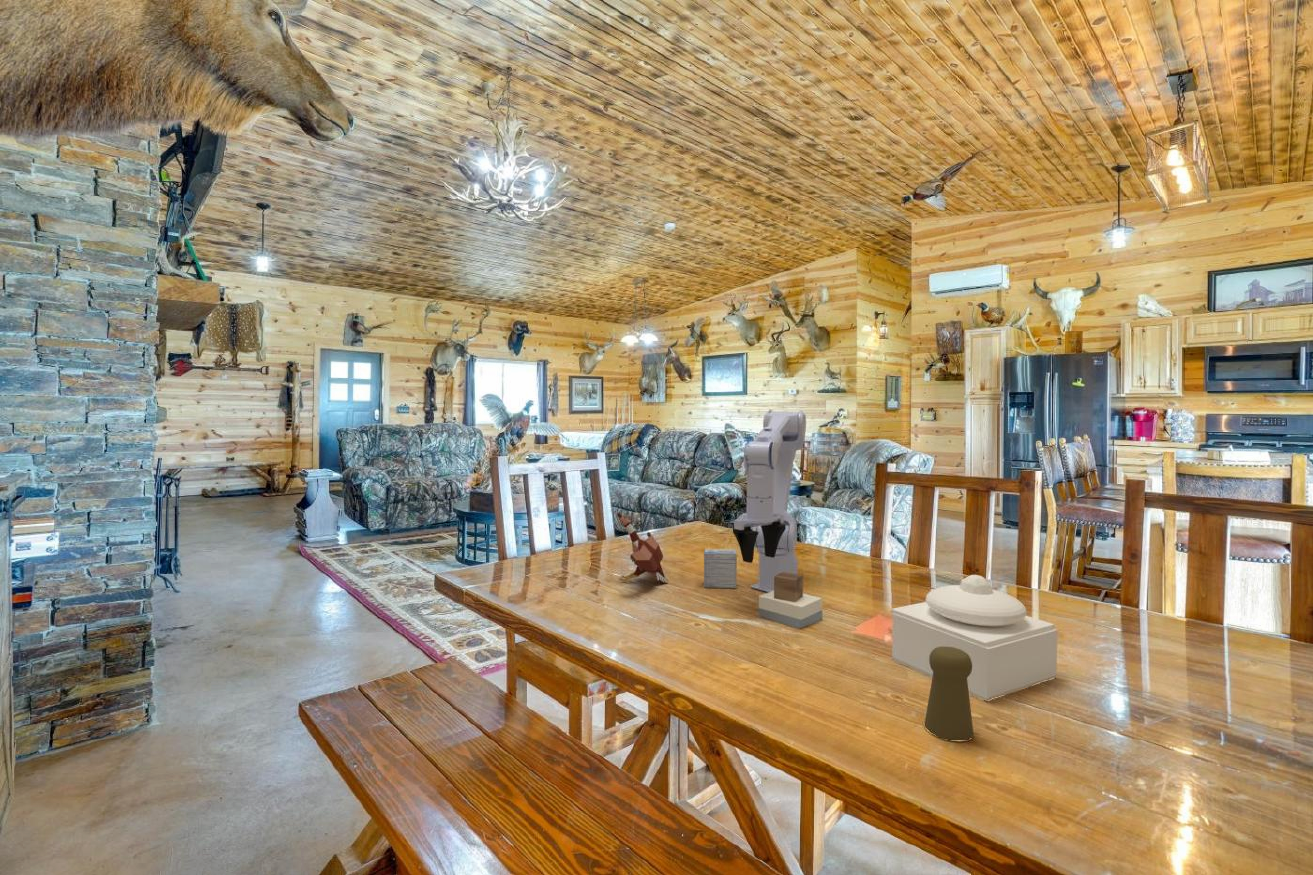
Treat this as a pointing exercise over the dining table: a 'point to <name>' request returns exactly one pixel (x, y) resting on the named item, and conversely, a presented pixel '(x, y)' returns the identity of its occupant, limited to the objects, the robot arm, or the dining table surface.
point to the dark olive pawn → (949, 694)
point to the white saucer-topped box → (977, 637)
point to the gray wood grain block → (720, 568)
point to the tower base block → (791, 618)
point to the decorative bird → (644, 554)
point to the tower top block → (791, 605)
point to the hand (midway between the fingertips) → (759, 559)
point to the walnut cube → (788, 586)
